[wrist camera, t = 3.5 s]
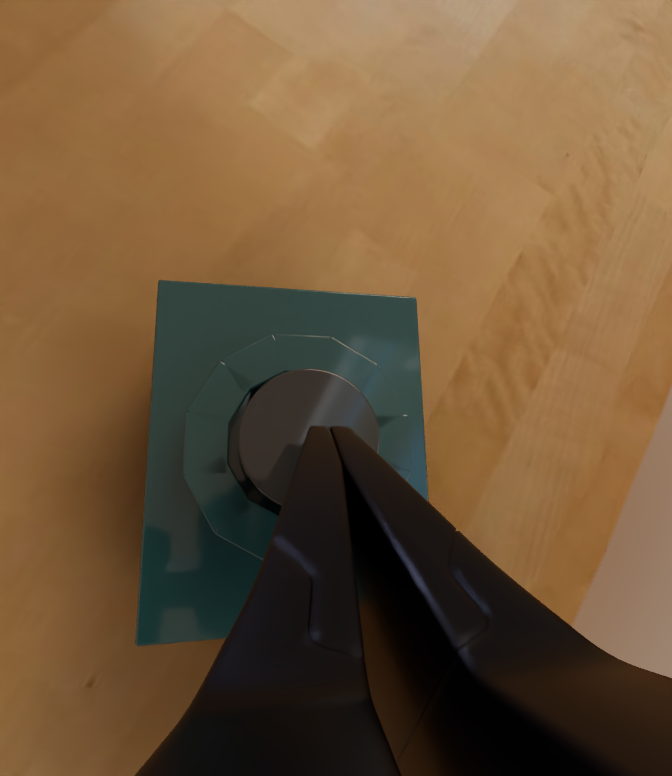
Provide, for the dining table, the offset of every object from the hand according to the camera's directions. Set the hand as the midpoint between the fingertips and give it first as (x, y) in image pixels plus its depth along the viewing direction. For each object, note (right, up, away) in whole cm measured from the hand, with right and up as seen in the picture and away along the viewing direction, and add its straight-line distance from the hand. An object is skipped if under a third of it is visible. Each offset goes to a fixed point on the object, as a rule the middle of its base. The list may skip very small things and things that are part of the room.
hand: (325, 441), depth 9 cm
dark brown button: (-1, 0, +4) cm, 4 cm away
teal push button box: (-3, -2, +12) cm, 12 cm away
